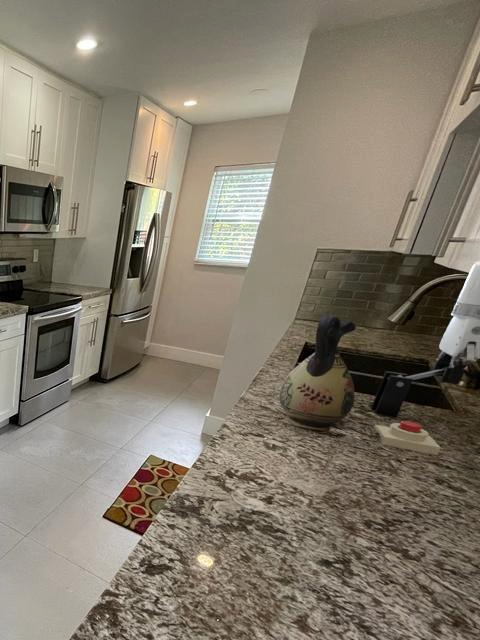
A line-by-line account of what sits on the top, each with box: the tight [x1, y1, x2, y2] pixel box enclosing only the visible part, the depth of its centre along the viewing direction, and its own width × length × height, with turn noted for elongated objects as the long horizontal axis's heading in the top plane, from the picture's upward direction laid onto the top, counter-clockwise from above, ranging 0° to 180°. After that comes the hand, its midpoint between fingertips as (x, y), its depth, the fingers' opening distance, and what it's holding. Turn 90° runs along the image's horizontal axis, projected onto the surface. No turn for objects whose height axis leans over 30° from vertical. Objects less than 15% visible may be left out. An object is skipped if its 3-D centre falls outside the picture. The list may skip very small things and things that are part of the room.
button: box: [399, 420, 423, 433], centre depth 101 cm, size 4×4×2 cm
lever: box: [387, 365, 449, 381], centre depth 111 cm, size 12×6×2 cm, turn 59°
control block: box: [373, 422, 442, 456], centre depth 102 cm, size 10×8×4 cm
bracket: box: [370, 371, 414, 418], centre depth 115 cm, size 12×10×13 cm
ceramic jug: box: [278, 315, 357, 433], centre depth 107 cm, size 17×15×30 cm
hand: (444, 378), depth 108 cm, fingers closed on lever, 5 cm apart
